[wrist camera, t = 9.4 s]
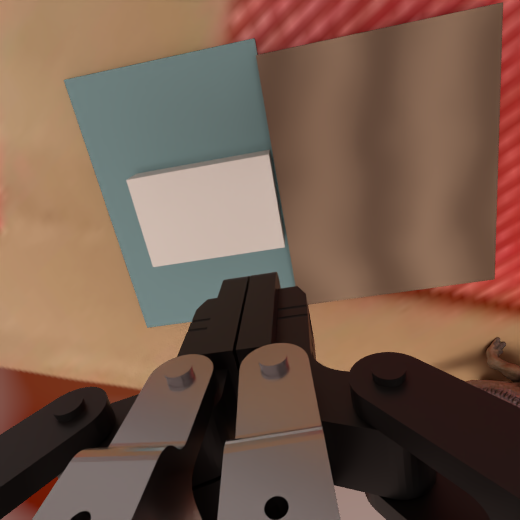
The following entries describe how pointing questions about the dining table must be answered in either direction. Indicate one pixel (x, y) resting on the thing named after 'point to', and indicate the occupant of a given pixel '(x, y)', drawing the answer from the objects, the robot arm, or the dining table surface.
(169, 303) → the mat
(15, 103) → the dining table surface
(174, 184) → the tile
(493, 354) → the dinosaur figurine
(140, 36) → the dining table surface
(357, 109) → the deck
